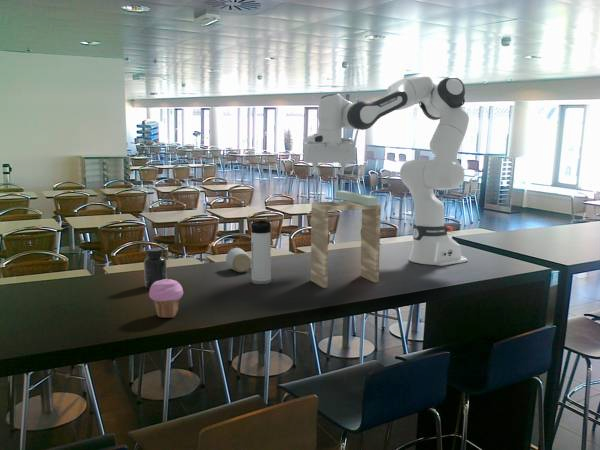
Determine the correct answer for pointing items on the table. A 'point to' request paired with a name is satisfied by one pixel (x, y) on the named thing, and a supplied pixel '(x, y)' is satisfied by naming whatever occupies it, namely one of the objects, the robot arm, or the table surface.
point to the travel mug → (261, 252)
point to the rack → (368, 239)
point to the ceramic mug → (238, 260)
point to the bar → (357, 198)
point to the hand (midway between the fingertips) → (329, 174)
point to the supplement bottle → (154, 267)
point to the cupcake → (166, 297)
